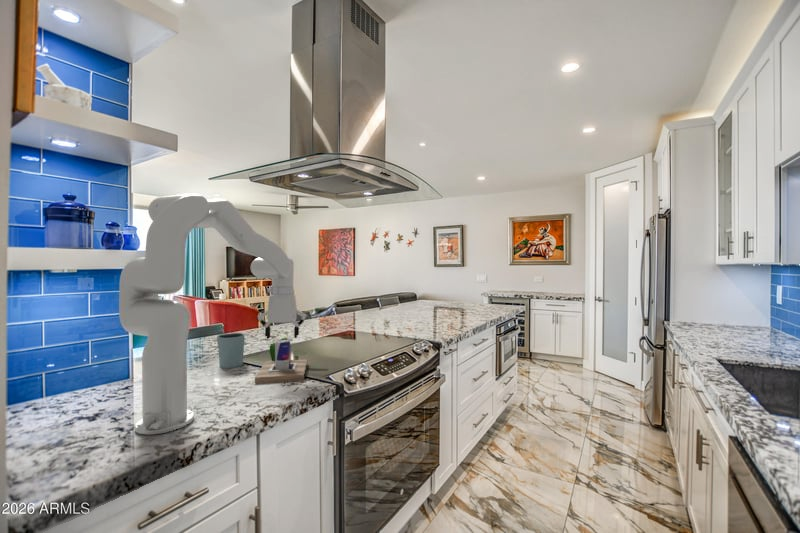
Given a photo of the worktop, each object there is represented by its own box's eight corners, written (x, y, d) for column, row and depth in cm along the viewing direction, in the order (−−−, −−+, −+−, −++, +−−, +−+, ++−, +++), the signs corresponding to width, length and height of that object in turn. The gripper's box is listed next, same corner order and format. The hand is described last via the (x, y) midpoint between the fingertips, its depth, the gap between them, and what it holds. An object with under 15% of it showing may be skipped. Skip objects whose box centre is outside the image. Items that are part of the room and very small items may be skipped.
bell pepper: (268, 366, 142) (268, 340, 142) (270, 360, 150) (270, 336, 150) (290, 364, 145) (290, 339, 144) (291, 359, 153) (291, 335, 152)
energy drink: (287, 375, 130) (287, 342, 130) (273, 375, 131) (272, 342, 130) (292, 371, 136) (292, 339, 136) (278, 371, 136) (278, 339, 136)
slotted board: (303, 380, 125) (303, 373, 125) (254, 383, 122) (254, 376, 122) (307, 364, 145) (307, 358, 145) (265, 366, 142) (265, 360, 142)
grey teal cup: (238, 368, 139) (238, 337, 139) (211, 368, 139) (211, 337, 139) (248, 361, 149) (248, 332, 149) (224, 361, 149) (224, 332, 149)
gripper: (255, 292, 128) (255, 340, 127) (306, 292, 131) (305, 339, 131) (260, 291, 135) (259, 336, 135) (307, 290, 138) (306, 335, 138)
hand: (282, 337), depth 133 cm, fingers open, 9 cm apart
